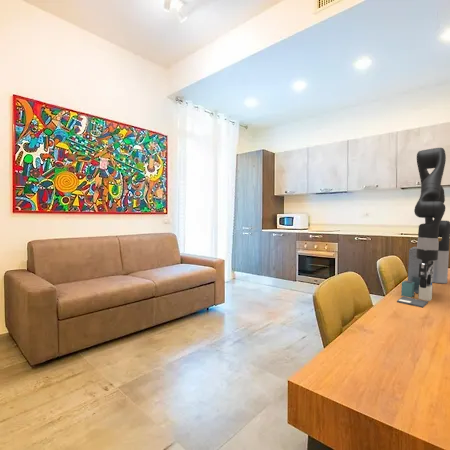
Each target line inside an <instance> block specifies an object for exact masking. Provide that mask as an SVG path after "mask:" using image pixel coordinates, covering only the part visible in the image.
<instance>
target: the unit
mask: <svg viewBox="0 0 450 450" xmlns="http://www.w3.org/2000/svg"><path fill="white" fill-rule="evenodd" d="M408 250H409V251H408V265H407V267H408V268H407V270H408V271H407V281H412V282H414V283H415V285H414V294H419V285H420V277H419V276H418V275H419V264H420V263H422V260H421V259H417V258H416V253H417V246H413V247H411V248H409V249H408ZM430 270H431V269H430ZM422 275H424V274H422ZM430 285H431V284H430Z"/></svg>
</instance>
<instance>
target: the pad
mask: <svg viewBox="0 0 450 450" xmlns="http://www.w3.org/2000/svg"><path fill="white" fill-rule="evenodd" d="M396 303H400V304H403V305H409V306H413V307H414V306H415V307H419V308H424V307H425V306H427V304H428V303H429V301H427V300H421V299H418V298H414V297H412V298H411V297H406V296H401V297H400V298H398V299H397V300H396Z"/></svg>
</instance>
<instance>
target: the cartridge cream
mask: <svg viewBox="0 0 450 450" xmlns="http://www.w3.org/2000/svg"><path fill="white" fill-rule="evenodd" d="M432 297H433V284H432V285H430V284H427V285H426V288H421V287H420V285H419V293H418V298H417V299H419V300H424V301H428V302H430V301H431V300H432V299H433V298H432Z"/></svg>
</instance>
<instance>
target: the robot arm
mask: <svg viewBox="0 0 450 450" xmlns="http://www.w3.org/2000/svg"><path fill="white" fill-rule="evenodd" d="M446 155H447V154H446V151H445V149H444V147H435V148H429V149H423V150H419V151H418V152H417V153H416V165H417V170H418V175H419V179H420V186H421V187H420V196H419V199H418V200H417V202H416V204H415V206H414V215H415V216H416V217H417V218H423V219H424V223H421V224H419V225H418V231H417V233H418V234H417V237H418V238H417V241H416V247H417V253H416V258H417V259H421V260H422V263H420V264H419V275H418V276H419V277H420V287H421V288H426V285H427V284H431V276H432V274H433V276H432V283H435V284H448V275H449V274H448V273H449V256H450V254H449V253H450V221H449V220H443V217H444V215H445V212H446V205H445V201H446V196H445V189H444V187H443V186H442V179H443V175H444V171H445V167H446V166H445V165H446V162H447V161H446V160H447V157H446ZM429 169H430V170H431V169H433V170H432V171H431V173H429V171H428V170H429ZM439 238H441V240H439ZM430 269H431V270H430ZM422 274H424V275H422Z"/></svg>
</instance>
